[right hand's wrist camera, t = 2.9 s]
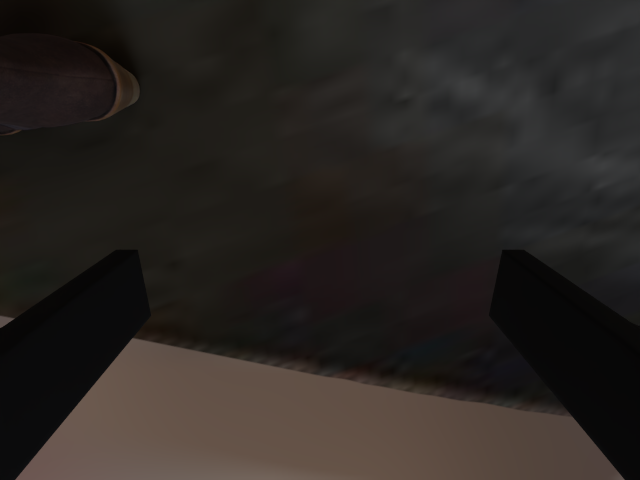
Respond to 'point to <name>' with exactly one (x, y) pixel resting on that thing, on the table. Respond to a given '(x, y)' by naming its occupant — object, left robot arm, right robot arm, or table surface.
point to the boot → (58, 83)
